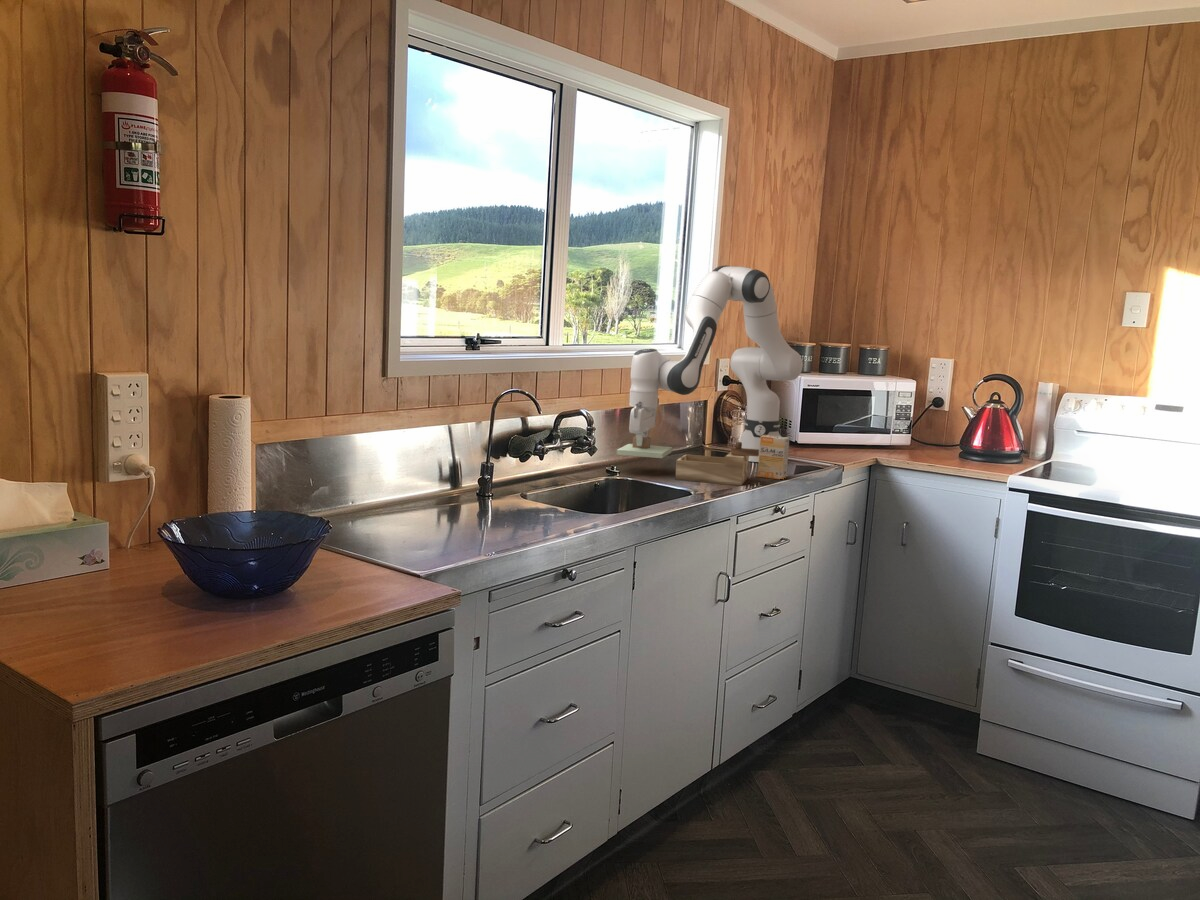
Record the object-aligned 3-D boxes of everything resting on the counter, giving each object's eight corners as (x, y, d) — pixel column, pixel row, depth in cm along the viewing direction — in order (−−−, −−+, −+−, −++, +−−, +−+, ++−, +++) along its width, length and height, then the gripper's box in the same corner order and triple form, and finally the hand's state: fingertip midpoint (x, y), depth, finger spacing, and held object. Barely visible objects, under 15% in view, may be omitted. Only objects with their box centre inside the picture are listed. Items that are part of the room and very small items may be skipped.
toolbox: (684, 472, 304) (685, 446, 302) (747, 478, 298) (749, 451, 297) (675, 480, 290) (676, 452, 289) (741, 485, 285) (742, 457, 284)
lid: (628, 448, 310) (628, 434, 309) (671, 451, 306) (672, 437, 305) (616, 454, 297) (617, 439, 296) (662, 458, 293) (662, 443, 292)
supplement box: (757, 477, 301) (759, 435, 299) (761, 475, 305) (764, 434, 303) (782, 480, 297) (785, 438, 295) (787, 478, 301) (789, 436, 299)
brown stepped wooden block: (732, 453, 290) (732, 441, 290) (758, 455, 288) (759, 443, 287) (730, 454, 288) (731, 442, 287) (757, 456, 286) (758, 444, 285)
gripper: (645, 404, 290) (643, 449, 292) (660, 399, 309) (658, 441, 311) (625, 403, 292) (623, 448, 294) (641, 397, 311) (639, 440, 313)
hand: (641, 444), depth 303 cm, fingers closed on lid, 3 cm apart
